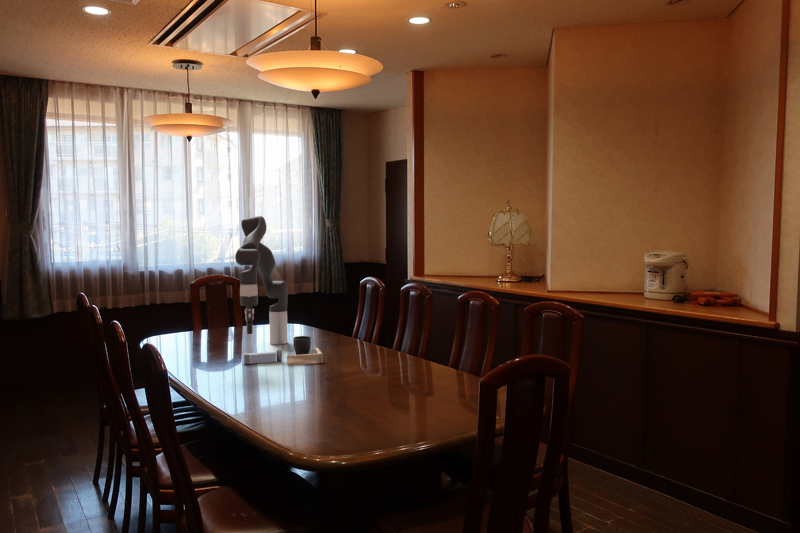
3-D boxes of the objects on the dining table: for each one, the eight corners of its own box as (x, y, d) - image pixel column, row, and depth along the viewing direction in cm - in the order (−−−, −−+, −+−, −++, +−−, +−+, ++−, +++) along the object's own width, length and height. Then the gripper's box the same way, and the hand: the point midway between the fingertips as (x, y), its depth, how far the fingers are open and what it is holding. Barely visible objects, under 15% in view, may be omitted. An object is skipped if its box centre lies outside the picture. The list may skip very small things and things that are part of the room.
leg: (275, 360, 276) (275, 351, 275) (276, 361, 272) (275, 352, 272) (244, 362, 272) (244, 353, 272) (244, 364, 269) (244, 354, 268)
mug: (306, 353, 292) (305, 334, 292) (313, 358, 281) (313, 338, 281) (289, 354, 289) (289, 335, 288) (296, 359, 278) (295, 339, 277)
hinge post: (276, 361, 275) (276, 350, 275) (281, 360, 276) (281, 349, 276) (276, 362, 273) (276, 351, 273) (282, 362, 274) (281, 350, 273)
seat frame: (284, 357, 282) (284, 349, 282) (318, 355, 286) (318, 347, 286) (287, 364, 268) (287, 356, 268) (322, 362, 272) (322, 353, 272)
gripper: (239, 293, 268) (240, 331, 269) (240, 296, 255) (241, 336, 256) (257, 292, 270) (257, 330, 271) (258, 295, 257) (259, 335, 258)
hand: (249, 333), depth 264 cm, fingers closed
